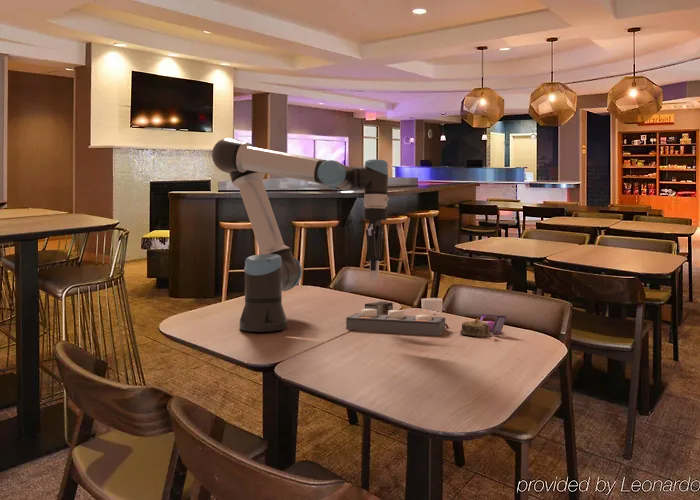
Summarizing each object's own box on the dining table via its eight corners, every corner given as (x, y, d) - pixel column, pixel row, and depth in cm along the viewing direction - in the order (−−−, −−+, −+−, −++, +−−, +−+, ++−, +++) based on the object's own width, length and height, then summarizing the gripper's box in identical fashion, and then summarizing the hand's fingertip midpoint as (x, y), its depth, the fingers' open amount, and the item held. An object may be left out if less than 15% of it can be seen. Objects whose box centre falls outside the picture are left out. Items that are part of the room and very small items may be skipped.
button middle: (386, 321, 177) (386, 311, 177) (390, 319, 182) (390, 309, 181) (401, 322, 175) (401, 312, 175) (405, 320, 180) (405, 310, 180)
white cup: (419, 324, 210) (419, 298, 210) (440, 324, 210) (440, 297, 210) (423, 327, 202) (423, 300, 202) (444, 327, 203) (444, 300, 202)
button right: (414, 326, 174) (414, 316, 174) (417, 324, 179) (417, 314, 179) (429, 327, 172) (429, 317, 172) (432, 325, 177) (432, 315, 177)
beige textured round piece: (457, 337, 168) (457, 319, 168) (462, 331, 177) (462, 315, 177) (490, 339, 164) (491, 321, 164) (494, 333, 174) (494, 316, 174)
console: (346, 330, 178) (346, 317, 178) (356, 325, 188) (356, 312, 188) (439, 335, 168) (439, 322, 168) (445, 329, 179) (445, 317, 179)
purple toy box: (498, 332, 170) (473, 330, 177) (505, 341, 173) (480, 339, 180) (505, 314, 174) (480, 312, 180) (512, 323, 176) (487, 322, 183)
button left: (359, 320, 180) (359, 310, 180) (364, 317, 184) (364, 308, 184) (374, 320, 178) (374, 310, 178) (378, 318, 183) (378, 309, 183)
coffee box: (380, 344, 206) (379, 301, 205) (394, 346, 201) (393, 302, 201) (364, 348, 199) (363, 303, 199) (378, 350, 195) (377, 304, 194)
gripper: (381, 207, 172) (379, 282, 173) (391, 209, 185) (390, 279, 185) (358, 206, 175) (356, 281, 175) (370, 208, 187) (368, 278, 188)
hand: (373, 280), depth 180 cm, fingers closed
